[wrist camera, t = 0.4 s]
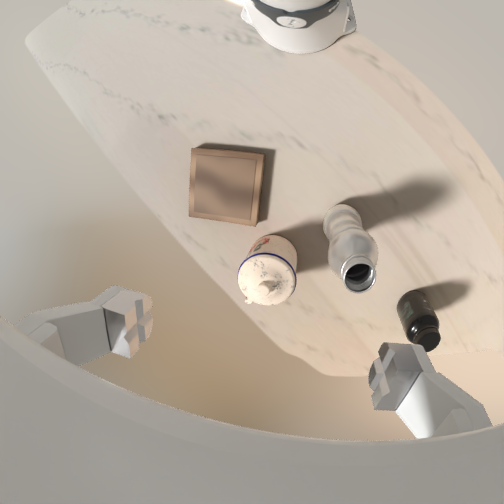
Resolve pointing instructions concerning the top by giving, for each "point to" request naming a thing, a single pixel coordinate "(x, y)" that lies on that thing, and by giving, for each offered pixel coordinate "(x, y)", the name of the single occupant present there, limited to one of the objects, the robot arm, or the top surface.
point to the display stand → (225, 185)
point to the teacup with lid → (269, 271)
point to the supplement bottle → (419, 320)
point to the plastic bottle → (350, 248)
